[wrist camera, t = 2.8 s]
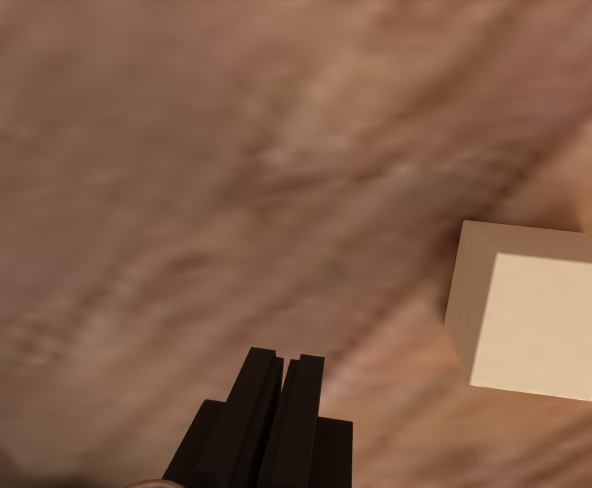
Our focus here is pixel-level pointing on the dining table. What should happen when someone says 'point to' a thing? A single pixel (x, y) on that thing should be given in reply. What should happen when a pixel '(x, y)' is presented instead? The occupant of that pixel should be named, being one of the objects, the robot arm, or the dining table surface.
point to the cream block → (523, 309)
